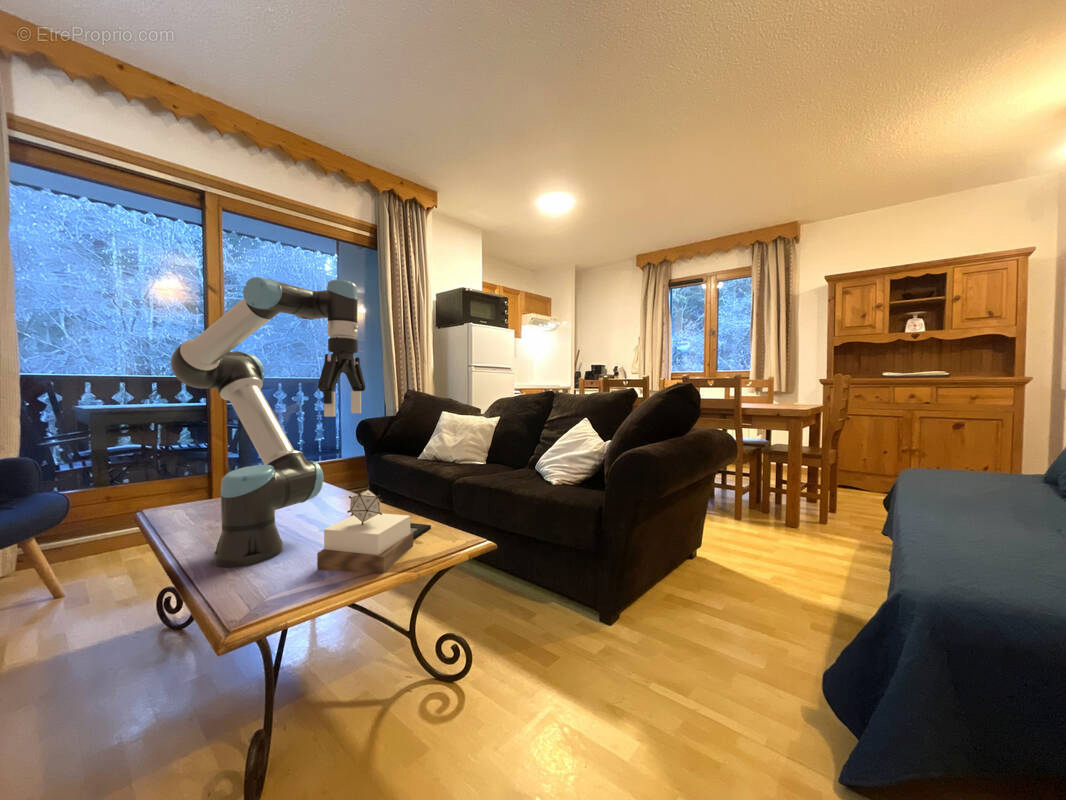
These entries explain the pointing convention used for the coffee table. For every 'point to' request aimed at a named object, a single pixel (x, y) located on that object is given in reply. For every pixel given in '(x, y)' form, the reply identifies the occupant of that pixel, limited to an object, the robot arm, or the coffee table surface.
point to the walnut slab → (363, 558)
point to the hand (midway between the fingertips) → (343, 414)
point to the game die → (365, 505)
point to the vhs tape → (418, 529)
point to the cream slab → (367, 534)
